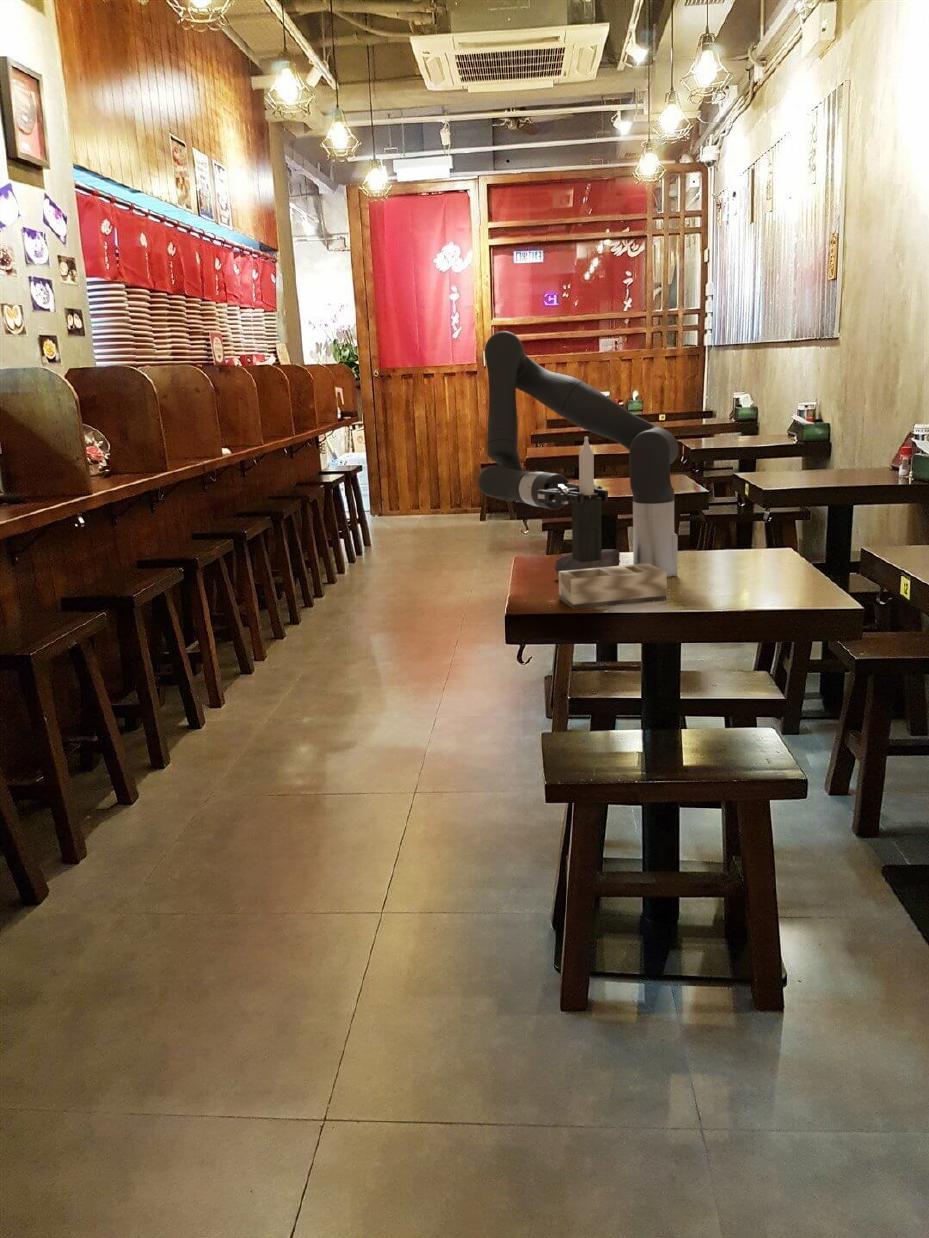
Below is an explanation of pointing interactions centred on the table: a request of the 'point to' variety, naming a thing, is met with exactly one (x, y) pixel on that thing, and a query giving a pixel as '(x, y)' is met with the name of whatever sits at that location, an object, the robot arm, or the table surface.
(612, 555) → the perforated stone tool
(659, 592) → the stand
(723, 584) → the table surface
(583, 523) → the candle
